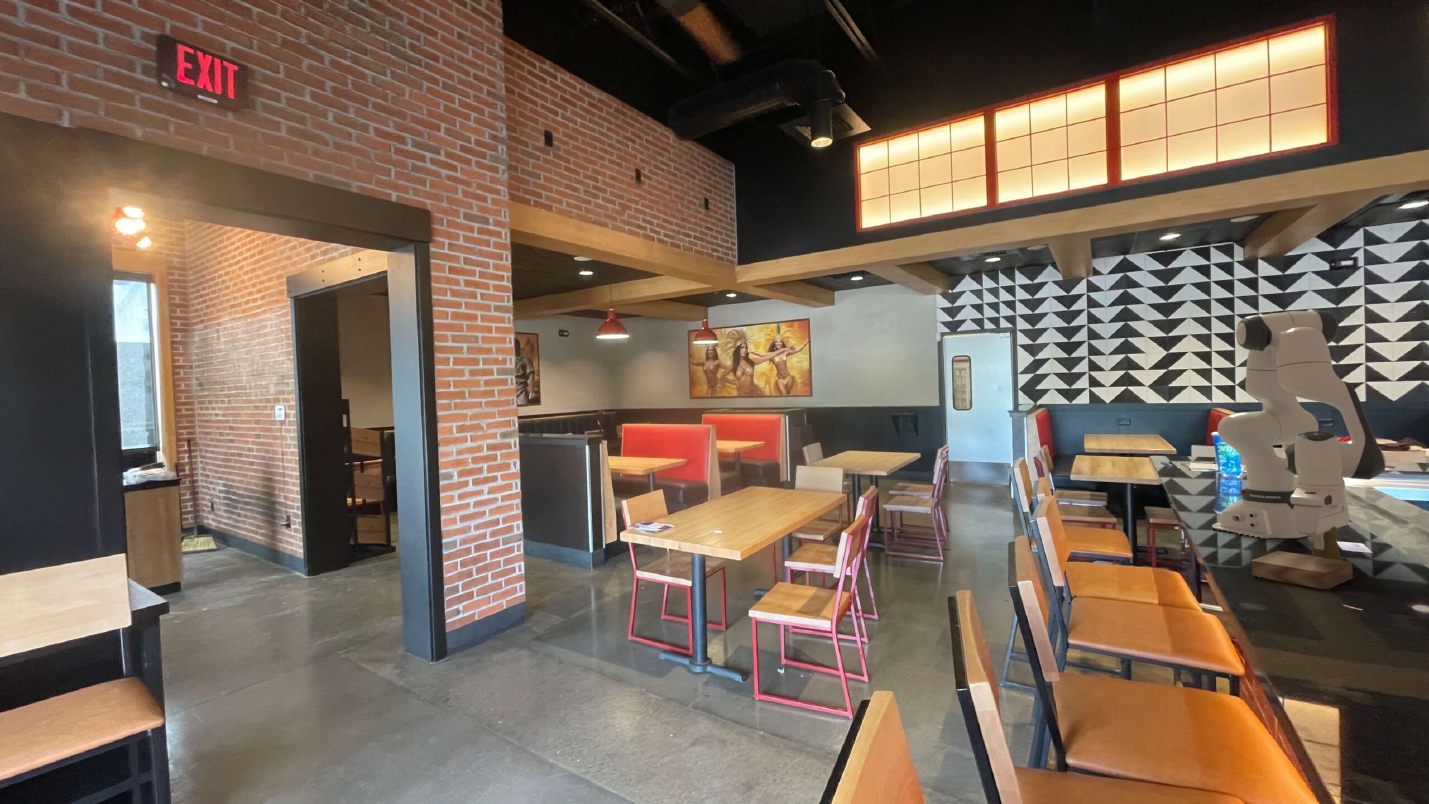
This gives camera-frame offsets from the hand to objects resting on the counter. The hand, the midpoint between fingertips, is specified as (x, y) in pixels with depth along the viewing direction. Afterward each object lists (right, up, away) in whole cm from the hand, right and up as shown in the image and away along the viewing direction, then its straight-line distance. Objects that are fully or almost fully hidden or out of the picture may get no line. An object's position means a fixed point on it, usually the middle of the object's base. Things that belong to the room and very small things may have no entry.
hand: (1325, 547), depth 153 cm
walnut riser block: (-12, -6, -6) cm, 15 cm away
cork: (0, -5, 0) cm, 5 cm away
